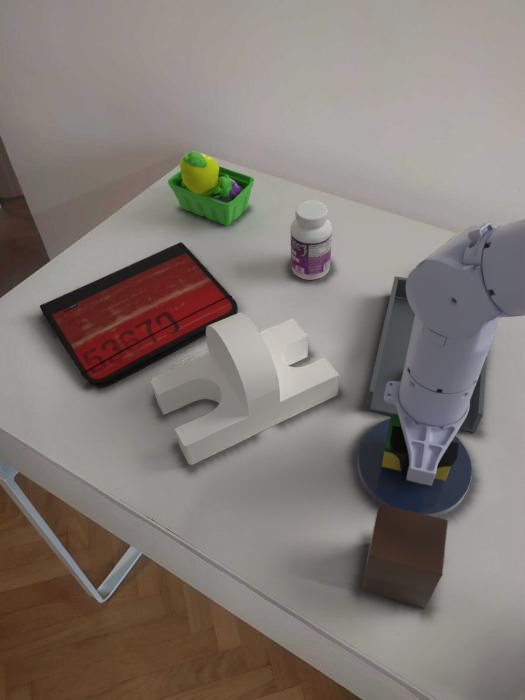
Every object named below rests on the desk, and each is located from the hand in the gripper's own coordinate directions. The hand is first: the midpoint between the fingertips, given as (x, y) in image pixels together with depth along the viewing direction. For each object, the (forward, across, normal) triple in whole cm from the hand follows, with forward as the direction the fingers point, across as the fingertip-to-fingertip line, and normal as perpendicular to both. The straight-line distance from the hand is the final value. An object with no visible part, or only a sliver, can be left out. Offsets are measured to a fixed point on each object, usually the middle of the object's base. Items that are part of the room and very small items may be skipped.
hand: (416, 453), depth 56 cm
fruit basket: (+3, -36, -35) cm, 51 cm away
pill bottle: (+3, -27, -17) cm, 32 cm away
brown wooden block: (+3, +11, 0) cm, 11 cm away
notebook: (+3, -13, -36) cm, 38 cm away
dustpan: (+3, -18, 0) cm, 19 cm away
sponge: (0, 0, 0) cm, 0 cm away
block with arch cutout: (+3, -4, -19) cm, 20 cm away
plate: (+3, 0, 0) cm, 3 cm away
